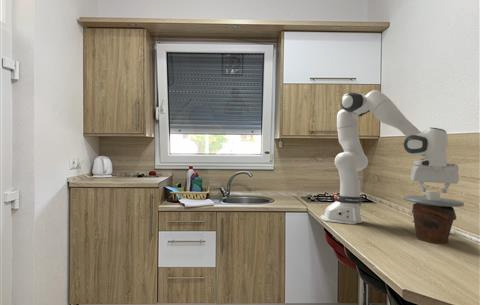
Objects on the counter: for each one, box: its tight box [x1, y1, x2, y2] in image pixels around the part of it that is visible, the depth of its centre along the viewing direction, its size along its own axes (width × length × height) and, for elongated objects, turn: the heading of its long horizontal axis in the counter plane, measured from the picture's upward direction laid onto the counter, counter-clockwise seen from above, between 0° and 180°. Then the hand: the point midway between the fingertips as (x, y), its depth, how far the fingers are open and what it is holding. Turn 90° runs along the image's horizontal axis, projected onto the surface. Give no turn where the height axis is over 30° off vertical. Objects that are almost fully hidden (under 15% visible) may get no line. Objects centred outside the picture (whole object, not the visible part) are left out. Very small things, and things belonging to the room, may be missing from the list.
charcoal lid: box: [403, 189, 465, 208], centre depth 154 cm, size 24×24×5 cm
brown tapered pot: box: [411, 202, 457, 244], centre depth 155 cm, size 18×20×18 cm
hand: (433, 192), depth 154 cm, fingers open, 8 cm apart
